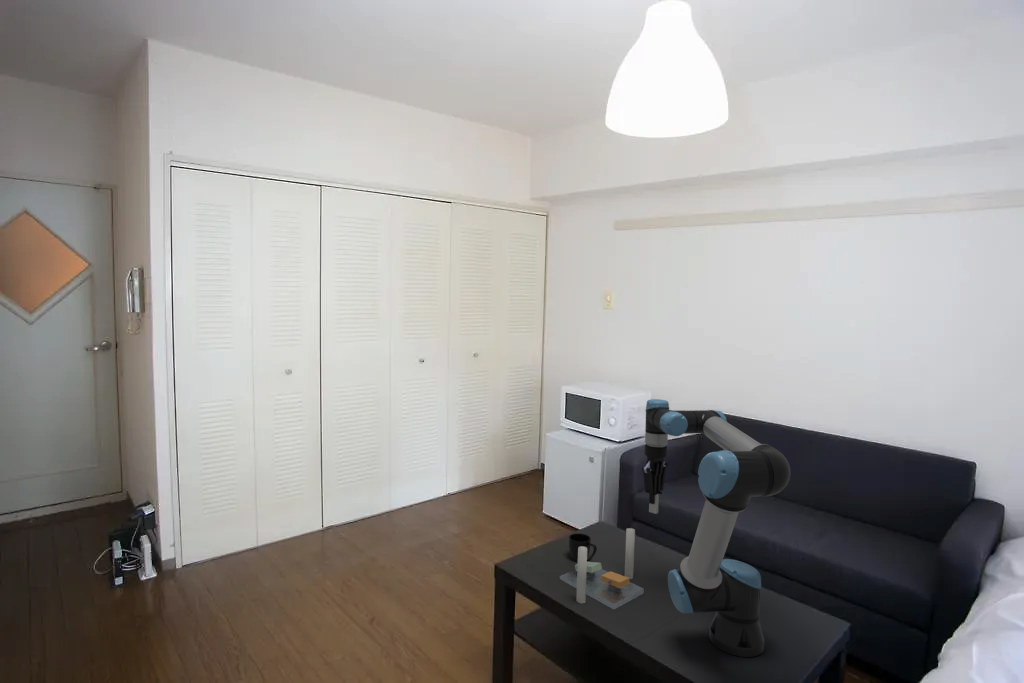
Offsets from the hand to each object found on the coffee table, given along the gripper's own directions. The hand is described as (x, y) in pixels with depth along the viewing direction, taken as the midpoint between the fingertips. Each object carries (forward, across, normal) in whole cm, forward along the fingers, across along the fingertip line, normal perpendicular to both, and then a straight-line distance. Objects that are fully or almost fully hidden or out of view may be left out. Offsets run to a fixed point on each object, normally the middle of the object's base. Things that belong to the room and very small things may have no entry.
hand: (653, 512), depth 195 cm
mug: (+27, +3, -28) cm, 39 cm away
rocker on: (+22, +13, -18) cm, 31 cm away
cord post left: (+27, +26, -10) cm, 38 cm away
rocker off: (+22, +13, -6) cm, 26 cm away
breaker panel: (+27, +13, -12) cm, 32 cm away
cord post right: (+27, 0, -9) cm, 28 cm away
